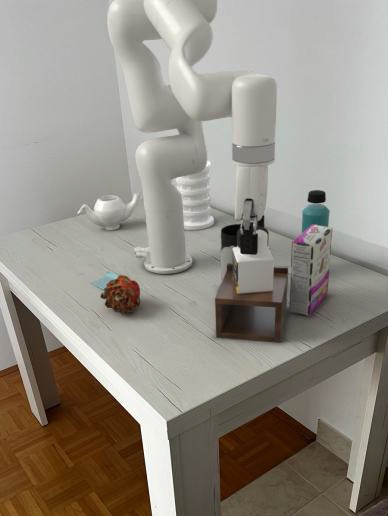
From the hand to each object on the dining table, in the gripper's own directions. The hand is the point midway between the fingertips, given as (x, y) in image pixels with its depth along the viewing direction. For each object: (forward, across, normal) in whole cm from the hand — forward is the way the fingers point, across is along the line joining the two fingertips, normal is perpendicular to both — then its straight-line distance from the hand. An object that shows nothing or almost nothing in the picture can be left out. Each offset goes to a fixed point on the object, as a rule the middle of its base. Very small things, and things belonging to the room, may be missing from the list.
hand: (252, 243), depth 106 cm
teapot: (+18, -52, -51) cm, 75 cm away
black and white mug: (+18, -17, -5) cm, 26 cm away
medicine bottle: (+9, 0, 0) cm, 9 cm away
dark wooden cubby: (+18, 0, 0) cm, 18 cm away
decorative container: (+18, -58, -26) cm, 66 cm away
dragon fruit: (+18, -2, -30) cm, 35 cm away
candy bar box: (+18, -10, +11) cm, 24 cm away
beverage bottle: (+18, -27, +11) cm, 35 cm away
